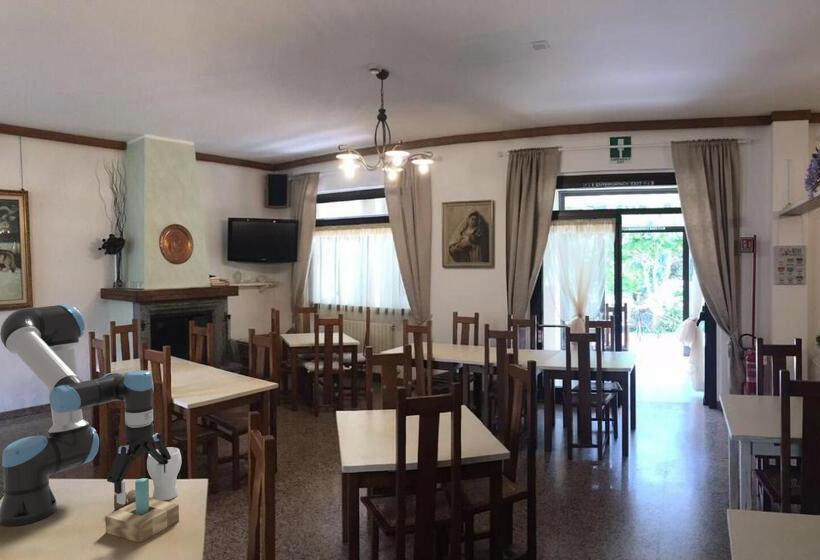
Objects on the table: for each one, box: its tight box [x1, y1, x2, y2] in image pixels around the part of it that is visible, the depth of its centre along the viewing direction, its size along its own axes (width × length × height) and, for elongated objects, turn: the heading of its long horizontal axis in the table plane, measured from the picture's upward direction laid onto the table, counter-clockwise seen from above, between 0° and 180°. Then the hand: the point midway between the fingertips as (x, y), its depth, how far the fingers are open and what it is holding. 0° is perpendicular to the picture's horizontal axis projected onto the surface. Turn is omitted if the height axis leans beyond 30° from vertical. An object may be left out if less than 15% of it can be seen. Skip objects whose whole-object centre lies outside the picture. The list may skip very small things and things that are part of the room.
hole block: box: [104, 497, 180, 543], centre depth 167 cm, size 14×14×5 cm
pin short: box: [113, 491, 128, 512], centre depth 178 cm, size 4×4×5 cm
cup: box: [146, 446, 182, 502], centre depth 187 cm, size 11×11×15 cm
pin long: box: [134, 477, 150, 516], centre depth 166 cm, size 4×4×14 cm
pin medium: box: [127, 489, 136, 505], centre depth 181 cm, size 4×4×8 cm
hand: (141, 493), depth 166 cm, fingers open, 13 cm apart
